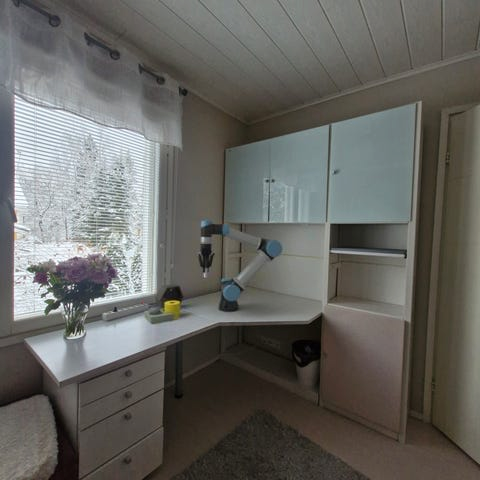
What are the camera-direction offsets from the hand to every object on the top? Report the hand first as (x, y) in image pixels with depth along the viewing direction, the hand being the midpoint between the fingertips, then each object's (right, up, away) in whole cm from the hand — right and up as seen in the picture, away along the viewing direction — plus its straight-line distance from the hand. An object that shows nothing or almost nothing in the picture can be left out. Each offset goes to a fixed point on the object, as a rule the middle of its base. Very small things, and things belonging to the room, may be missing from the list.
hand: (205, 277), depth 175 cm
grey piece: (-30, -26, -8) cm, 40 cm away
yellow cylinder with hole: (-22, -26, -3) cm, 35 cm away
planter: (-28, -26, +12) cm, 40 cm away
